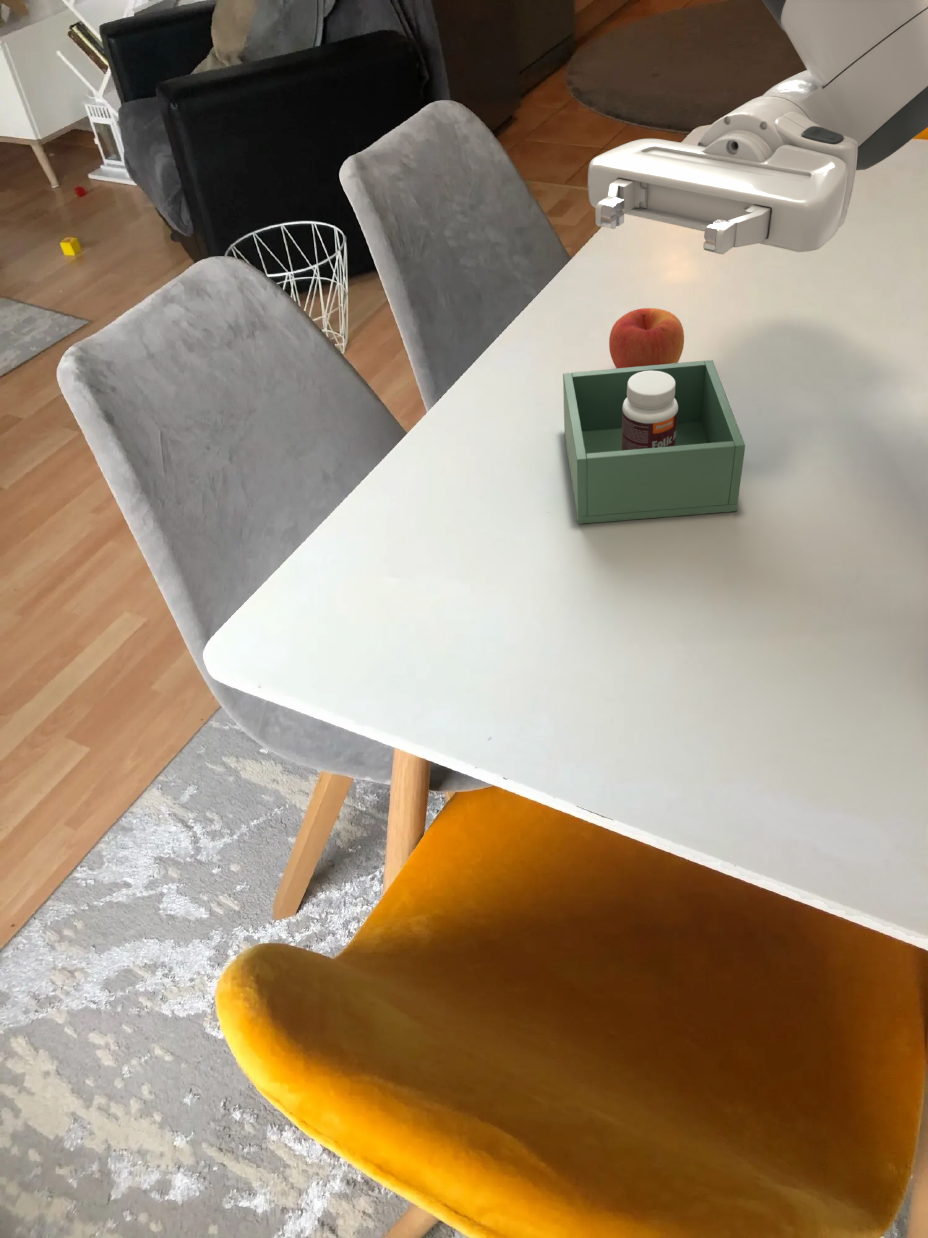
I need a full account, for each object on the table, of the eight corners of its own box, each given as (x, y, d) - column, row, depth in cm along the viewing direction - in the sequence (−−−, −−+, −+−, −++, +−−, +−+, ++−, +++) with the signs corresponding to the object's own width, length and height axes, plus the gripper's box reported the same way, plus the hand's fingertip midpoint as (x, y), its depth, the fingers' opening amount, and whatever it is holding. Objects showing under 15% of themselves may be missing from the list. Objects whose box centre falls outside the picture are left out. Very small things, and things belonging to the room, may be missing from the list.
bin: (706, 423, 92) (712, 359, 87) (736, 511, 82) (745, 445, 77) (564, 435, 93) (562, 373, 88) (578, 524, 83) (577, 459, 78)
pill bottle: (657, 485, 84) (662, 403, 79) (611, 469, 87) (612, 387, 81) (684, 458, 87) (690, 376, 81) (638, 442, 89) (641, 362, 83)
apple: (685, 362, 100) (690, 289, 94) (676, 400, 95) (681, 326, 89) (615, 358, 102) (616, 287, 96) (603, 396, 97) (603, 323, 91)
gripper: (642, 107, 81) (542, 162, 74) (880, 142, 70) (788, 211, 63) (640, 184, 85) (545, 243, 78) (863, 228, 75) (776, 301, 68)
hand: (655, 229), depth 71 cm, fingers open, 8 cm apart
